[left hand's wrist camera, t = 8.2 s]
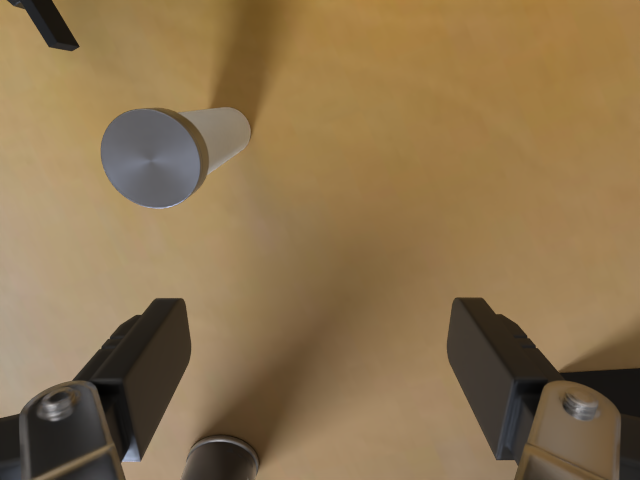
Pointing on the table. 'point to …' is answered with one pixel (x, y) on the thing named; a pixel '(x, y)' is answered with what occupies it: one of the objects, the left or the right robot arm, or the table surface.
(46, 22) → the right robot arm
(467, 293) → the table surface
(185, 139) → the lid
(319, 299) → the table surface
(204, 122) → the white long cylinder
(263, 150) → the table surface
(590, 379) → the cardboard box
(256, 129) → the table surface
